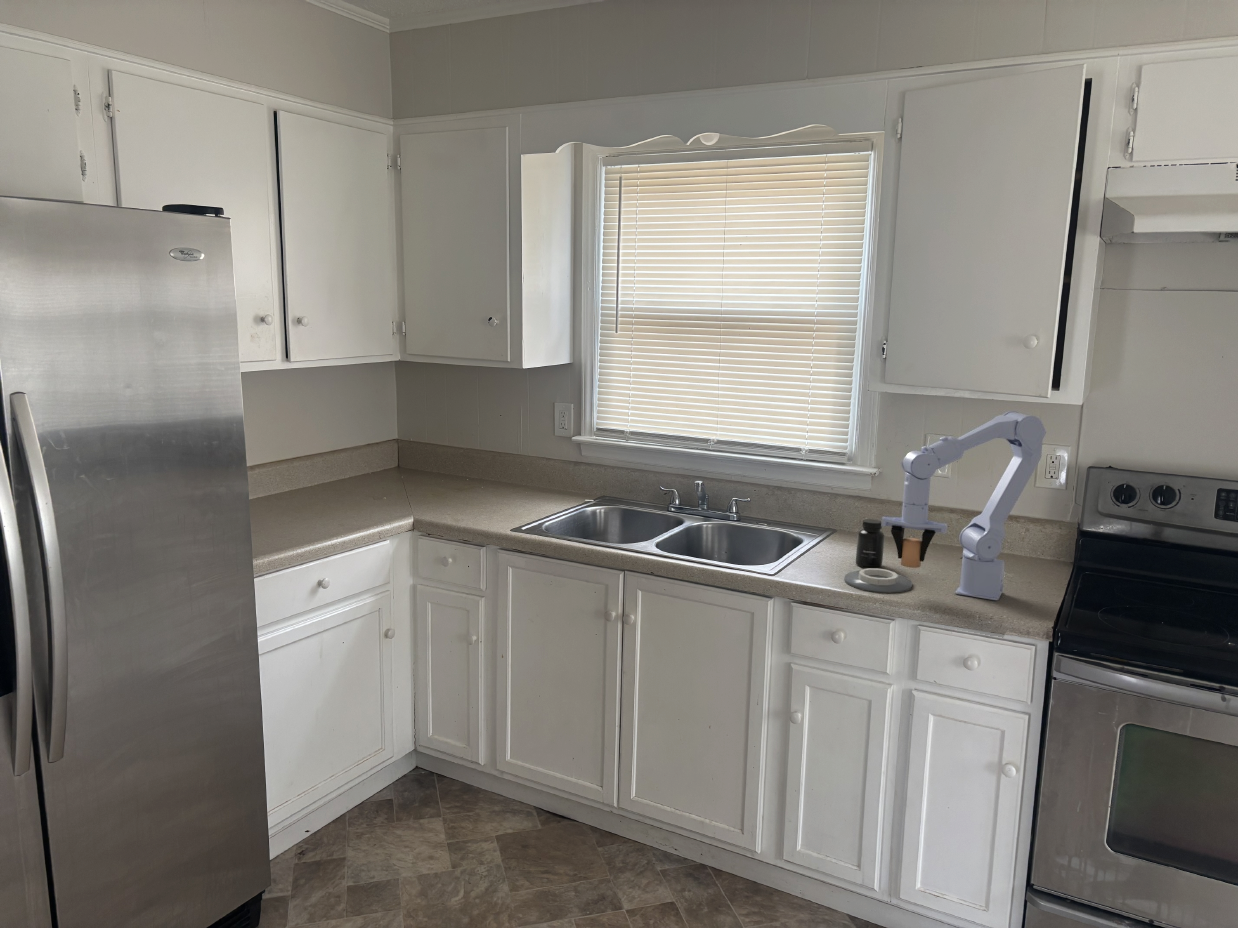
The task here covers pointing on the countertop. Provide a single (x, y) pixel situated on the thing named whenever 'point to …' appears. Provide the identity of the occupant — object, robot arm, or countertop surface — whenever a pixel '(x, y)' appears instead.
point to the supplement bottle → (870, 544)
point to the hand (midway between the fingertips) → (911, 558)
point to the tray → (878, 588)
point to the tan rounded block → (911, 552)
